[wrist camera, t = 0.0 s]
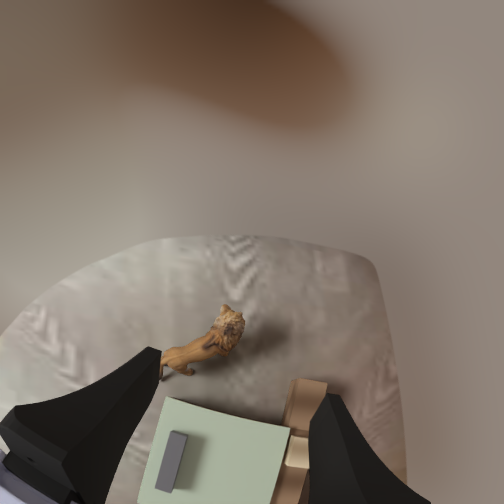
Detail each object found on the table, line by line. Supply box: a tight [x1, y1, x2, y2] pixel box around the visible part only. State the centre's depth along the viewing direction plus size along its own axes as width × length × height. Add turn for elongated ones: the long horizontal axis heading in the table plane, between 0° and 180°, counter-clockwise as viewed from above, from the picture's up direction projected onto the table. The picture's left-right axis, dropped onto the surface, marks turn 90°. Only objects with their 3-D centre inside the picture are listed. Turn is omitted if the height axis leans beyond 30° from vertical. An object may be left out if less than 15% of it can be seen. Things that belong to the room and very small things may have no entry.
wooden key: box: [283, 435, 309, 469], centre depth 32 cm, size 4×3×2 cm
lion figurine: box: [159, 304, 245, 380], centre depth 39 cm, size 15×5×9 cm, turn 128°
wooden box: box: [170, 378, 328, 504], centre depth 35 cm, size 23×20×5 cm
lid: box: [137, 396, 290, 504], centre depth 29 cm, size 16×16×4 cm
